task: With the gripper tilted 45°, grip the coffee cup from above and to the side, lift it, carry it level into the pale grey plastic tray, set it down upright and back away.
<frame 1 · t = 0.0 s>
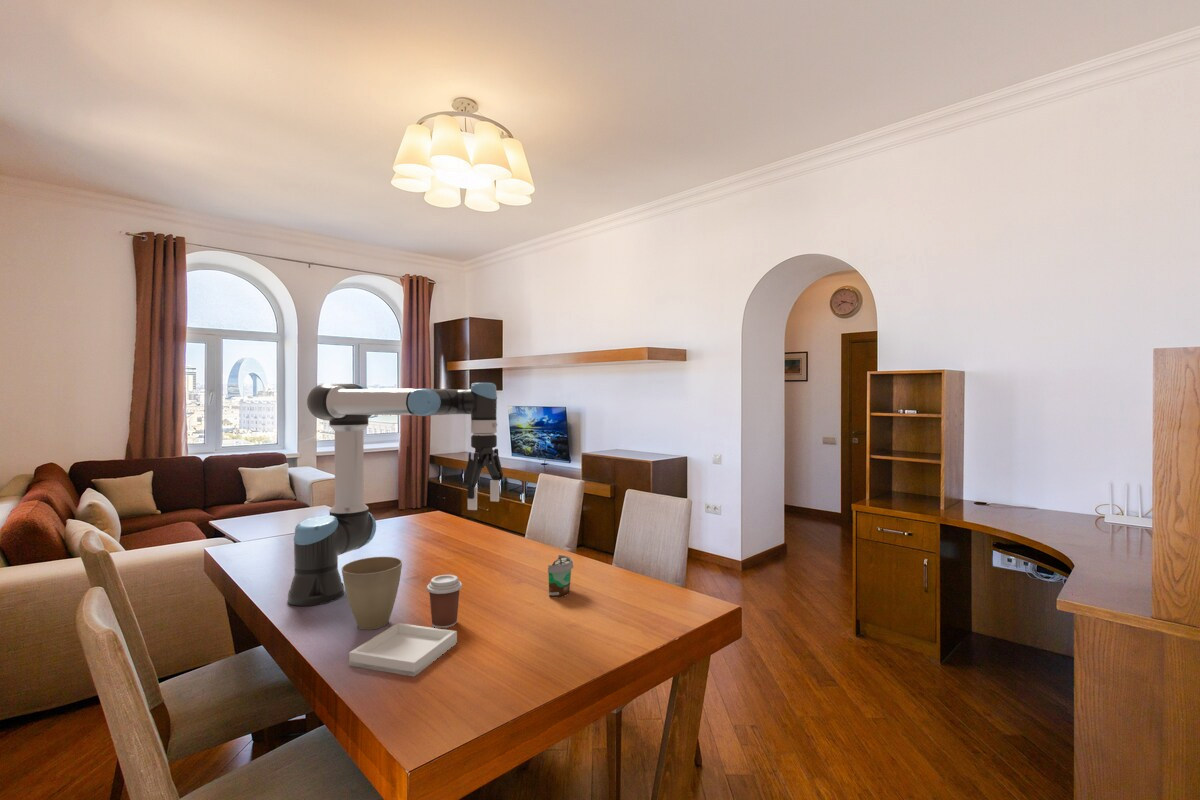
hand: (484, 505, 166), 28 cm above the table, tool pointing down, fingers open, 13 cm apart
food container: (563, 593, 171), on the table
plant pot: (372, 625, 147), on the table
tray: (405, 653, 130), on the table
coffee cup: (444, 624, 148), on the table
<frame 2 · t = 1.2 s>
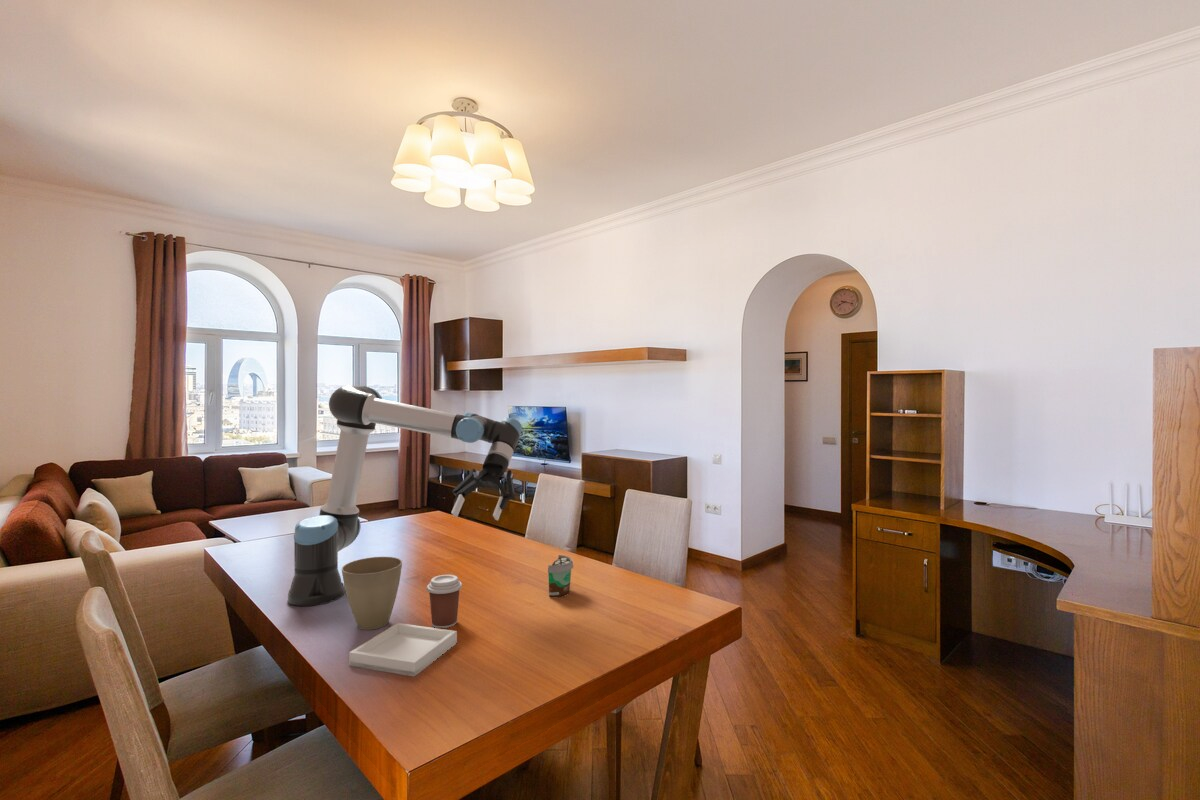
hand: (474, 516, 162), 25 cm above the table, tool tilted 45°, fingers open, 13 cm apart
nothing on the table moved.
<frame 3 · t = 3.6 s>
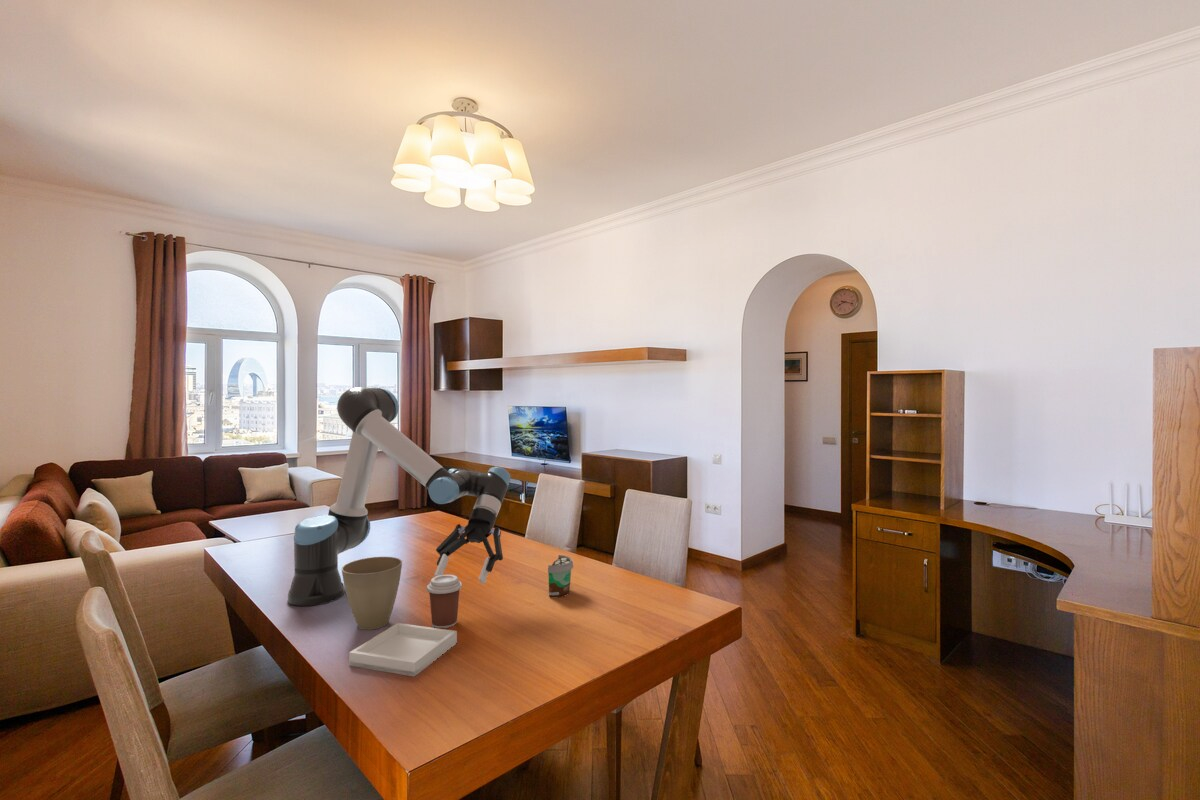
hand: (458, 579, 152), 10 cm above the table, tool tilted 45°, fingers open, 13 cm apart
nothing on the table moved.
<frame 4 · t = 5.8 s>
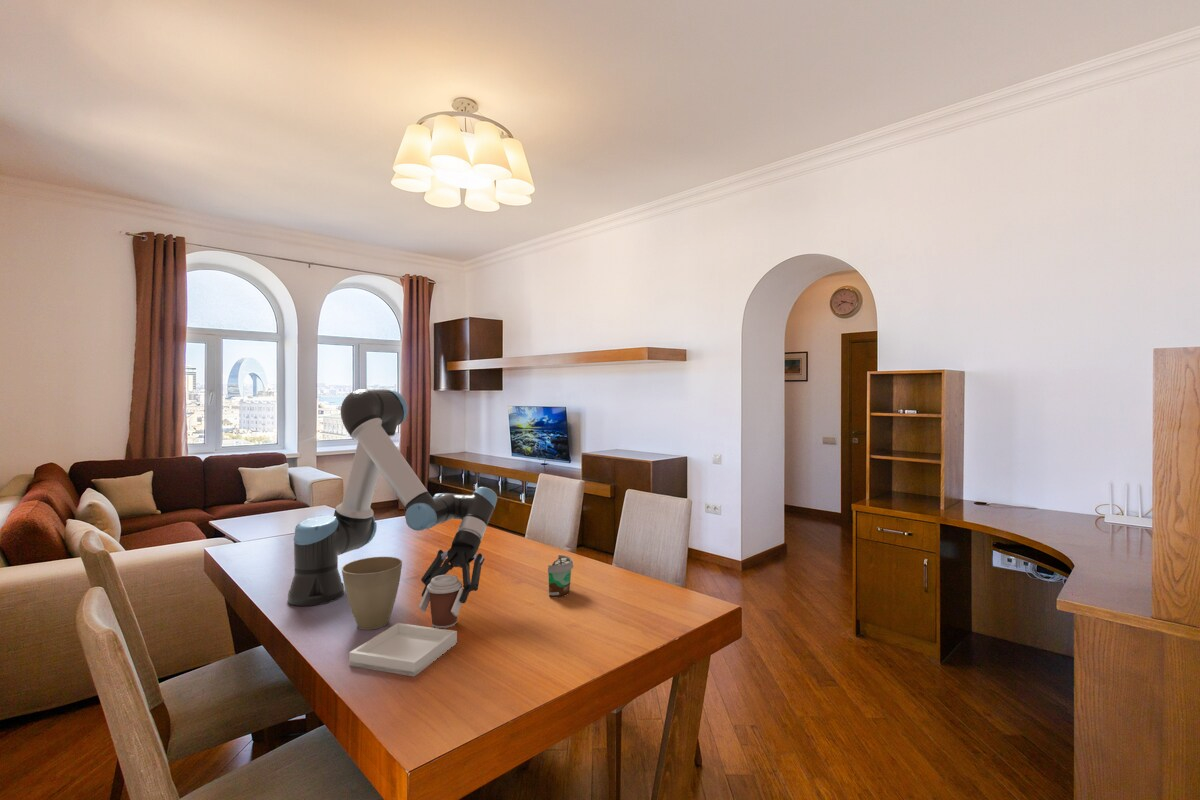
hand: (437, 611, 145), 4 cm above the table, tool tilted 45°, fingers closed on coffee cup, 9 cm apart
coffee cup: (444, 624, 148), on the table, touching gripper
everything else where it was.
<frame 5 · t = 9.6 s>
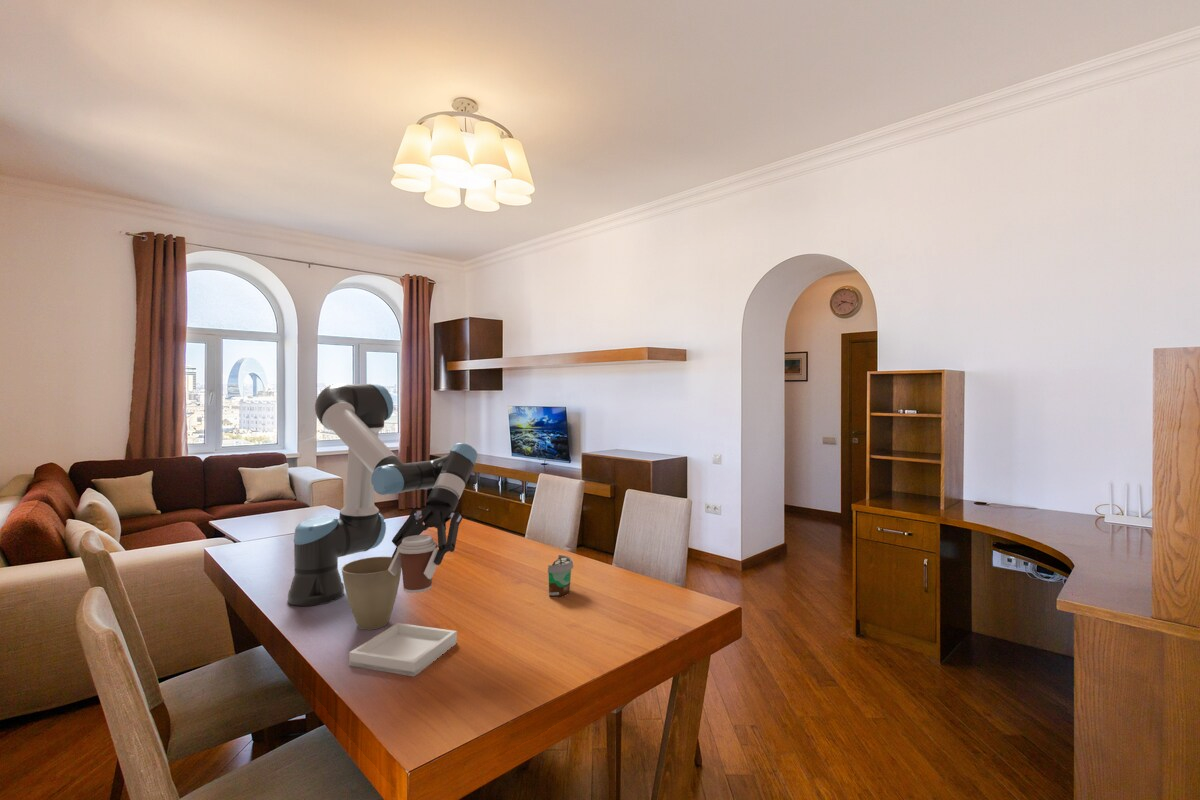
hand: (409, 574, 130), 19 cm above the table, tool tilted 45°, fingers closed on coffee cup, 9 cm apart
coffee cup: (417, 588, 134), point 14 cm above the table, touching gripper
everything else where it was.
when the fingers open (7 cm above the table, at t = 13.2 s): coffee cup drops 1 cm, resting on tray.
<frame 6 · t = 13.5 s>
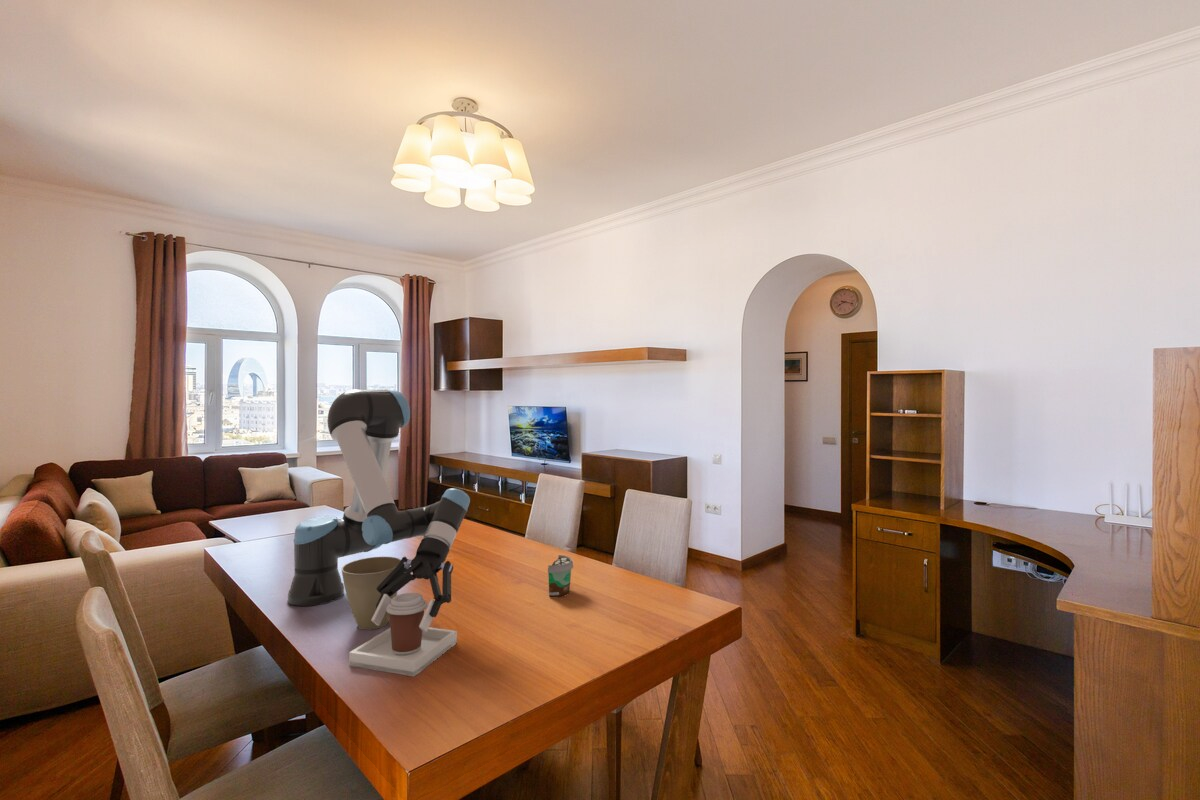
hand: (398, 626, 128), 7 cm above the table, tool tilted 45°, fingers open, 12 cm apart
coffee cup: (406, 649, 130), point 1 cm above the table, touching tray
everything else where it was.
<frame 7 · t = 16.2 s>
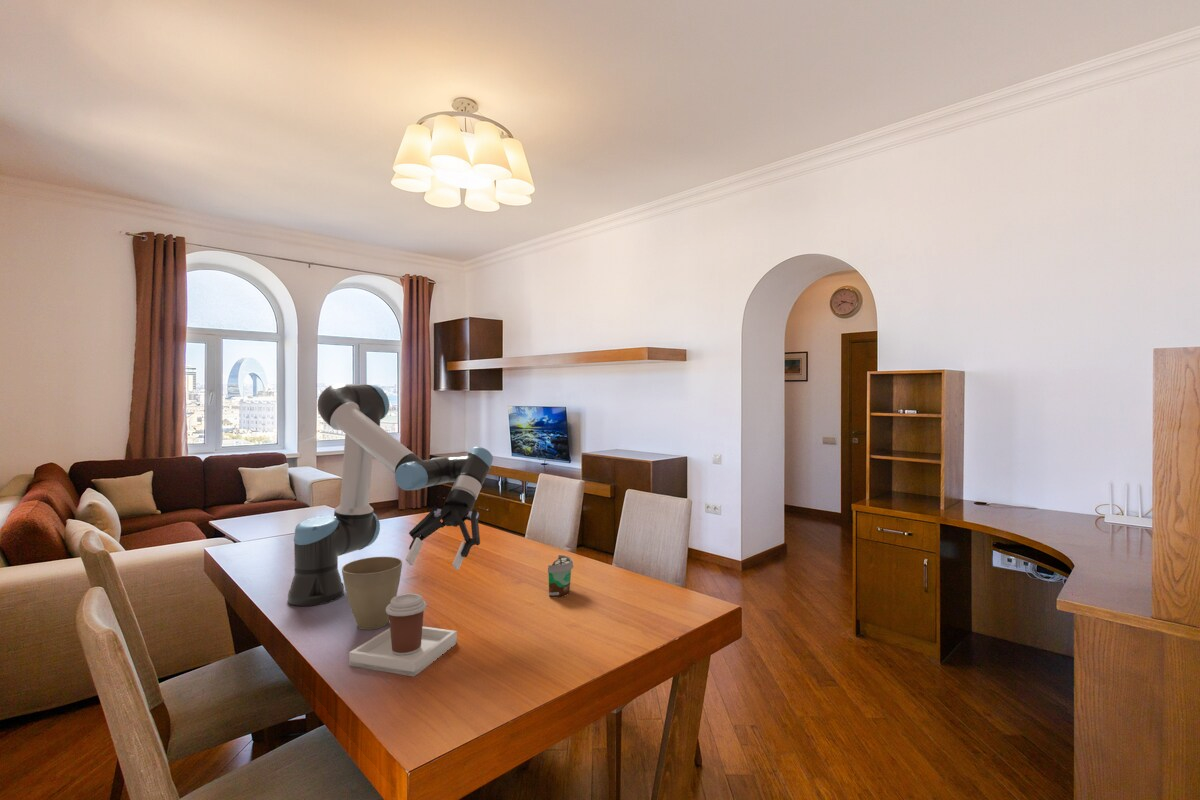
hand: (431, 565, 141), 18 cm above the table, tool tilted 45°, fingers open, 13 cm apart
nothing on the table moved.
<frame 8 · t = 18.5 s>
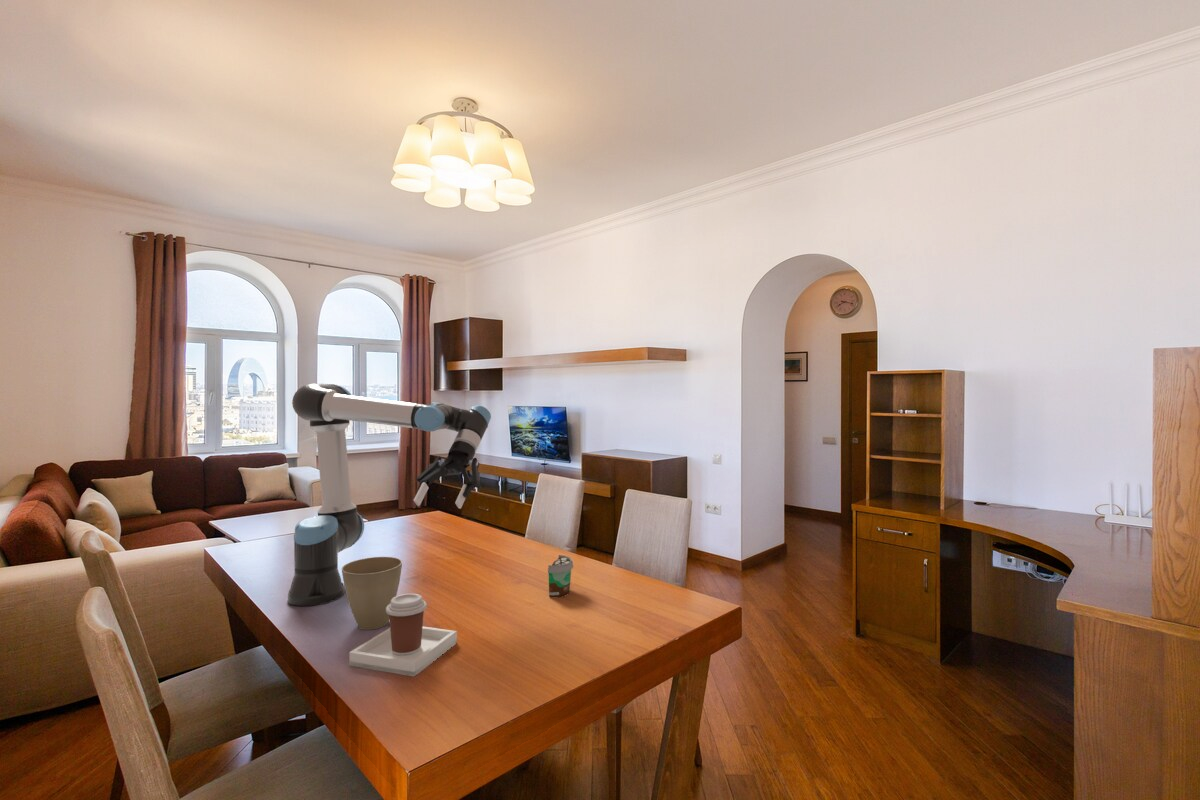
hand: (436, 504, 158), 30 cm above the table, tool tilted 45°, fingers open, 13 cm apart
nothing on the table moved.
at the end: coffee cup inside the target area on the tray (0.3 cm from its centre), point 0.8 cm above the tray's base; coffee cup tilted 0°; the gripper is holding nothing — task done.
